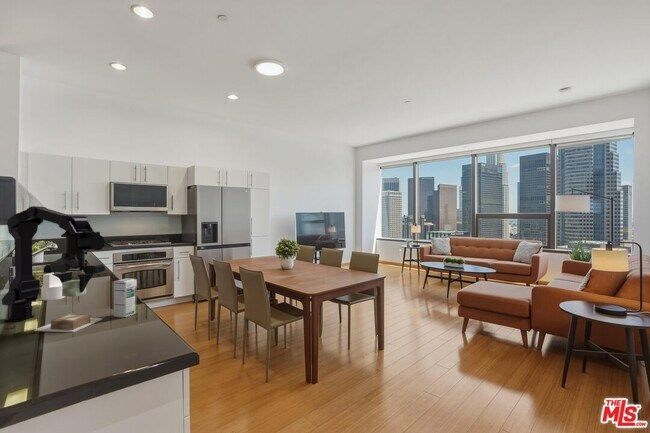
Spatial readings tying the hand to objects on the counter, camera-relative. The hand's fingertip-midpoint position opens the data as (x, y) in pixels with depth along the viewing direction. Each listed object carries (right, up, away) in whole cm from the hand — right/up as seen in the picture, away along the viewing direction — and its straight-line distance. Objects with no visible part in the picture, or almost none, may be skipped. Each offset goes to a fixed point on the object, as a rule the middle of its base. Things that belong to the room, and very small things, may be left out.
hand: (74, 291), depth 118 cm
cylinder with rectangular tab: (-39, -12, +37) cm, 55 cm away
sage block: (0, -1, 0) cm, 1 cm away
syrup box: (+11, -13, +13) cm, 21 cm away
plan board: (-2, -12, 0) cm, 12 cm away
